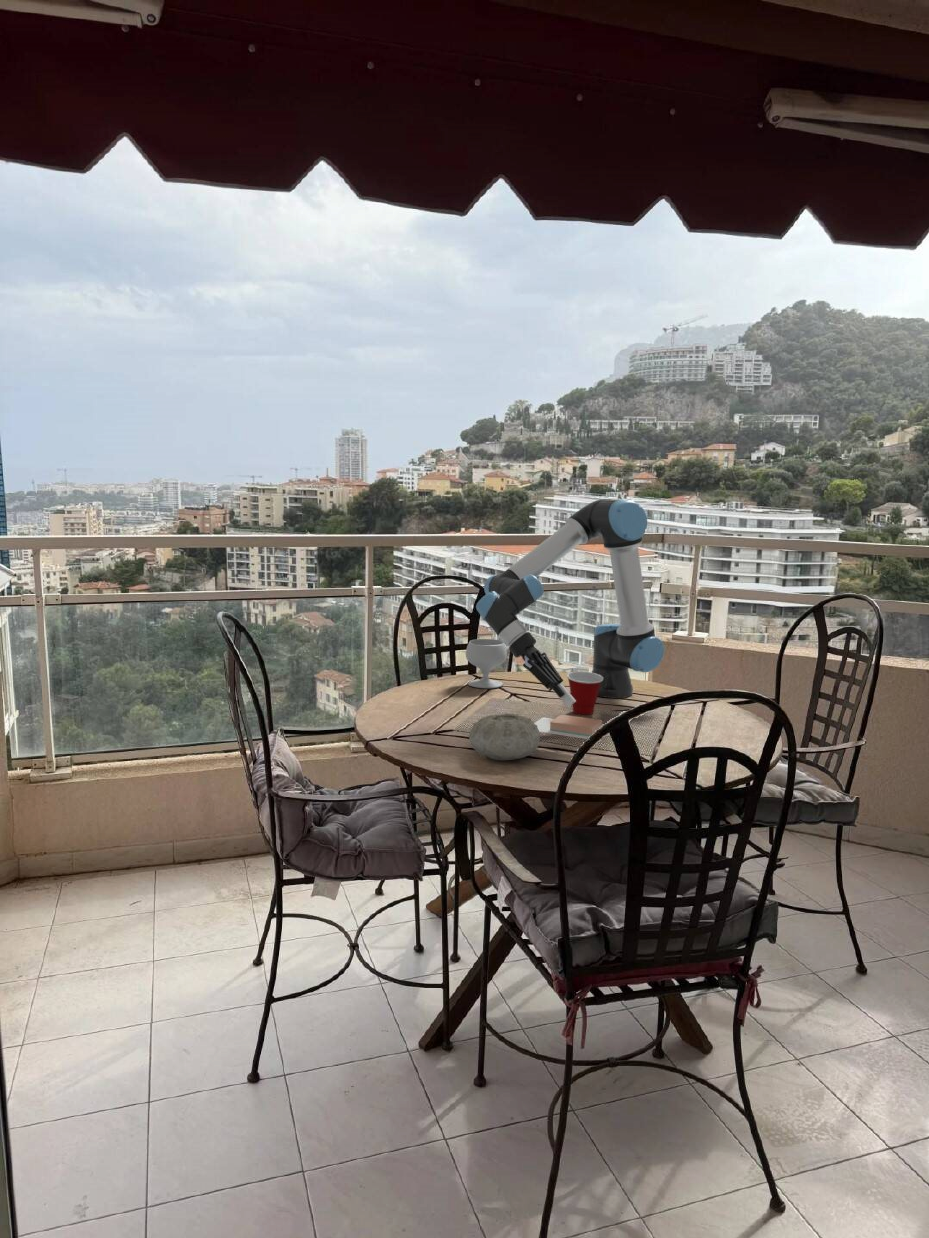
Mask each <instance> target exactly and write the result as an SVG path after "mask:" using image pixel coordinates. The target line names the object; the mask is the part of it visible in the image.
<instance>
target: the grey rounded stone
mask: <svg viewBox="0 0 929 1238" xmlns="http://www.w3.org/2000/svg"><path fill="white" fill-rule="evenodd" d="M534 723H535V722H534V721H533V720H532V719H531V718H528V717H525V716H524V715H523V716H522V715H519V714H518V713H516V714H514V713H506V712H505V713H502V714H490V715H487V716H484V717H482V718H480V719H479V720H478V721H477V722H476V723H475V722H473V724H472V727H471V728H470V731H469V737H468V738H469V744H470V745H471V748H472V749H473V750H474V751H476V752H477V753H479V754H481V755H482V756H484V757H486V758H489V759H492V760H496V761H510V760H511V761H513V760H518V759H523V758H525V757H527V756H528V757H529V756H531V755H532V754H534V753H535V752H536V751H537V749H538V747H539V746H540V745H539V743H540V741H541V740H540V739H541V734H540V733H541V732H539V730H538V728H537V725H535V724H534Z"/></svg>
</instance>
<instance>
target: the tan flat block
mask: <svg viewBox="0 0 929 1238" xmlns="http://www.w3.org/2000/svg"><path fill="white" fill-rule="evenodd" d="M553 719H554V720H552V721H551V722H550V730H551V731H557V732H564V733H570V734H577V735H584V736H590V735H592V734H593V733H594V732H595V730H597V729H598V728H599V727H600V726H601V725H602V726H603V719H599V718H597V719H596V718H589V717H582V716H576V715H569V714H563V713H562V714H559V715H558V716H557V717H555V718H553Z"/></svg>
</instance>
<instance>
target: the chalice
mask: <svg viewBox="0 0 929 1238" xmlns="http://www.w3.org/2000/svg"><path fill="white" fill-rule="evenodd" d="M506 647H507V646H506V645H505V644H504V642H501V639H500V640H499V639H494V638H493V639H491V638H477V639H472V640H469V642H468V644H467V646H466V649H465V658H466V660H467V662H468V663H469V664H471V665H473V666H475V667H476V668H478V669H479V670H480V671H481V673H482V674H483V675H482V678H481V679H473V680H470V681H469V682H468V683H467V685H468V686H470V687H472V688H473V687H474V688H475V689H476V688H478V689H497V688H501V687H503V686H504V683H503V682H502V681H500V680H494V679H490V677H489V675H490V672H491V671H492V670H493V669H495V668H497V667H498V666H500V665H502V664H503V663H505V661H506V660H507V656H508V651H507V648H506Z"/></svg>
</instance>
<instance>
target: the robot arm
mask: <svg viewBox="0 0 929 1238" xmlns="http://www.w3.org/2000/svg"><path fill="white" fill-rule="evenodd" d="M647 527H648V516H647V514H646V510H645V509H644V508H643V507H642V506H641V505H640V504H639V503H638V502H636V501H633V500H629V499H607V498H606V499H605V498H601V499H598V500H594V501H592V502H590V503H588V504H586V505H585V506H583V507H582V508H580V509H578V510H577V511H576V512H575V513H573V514H572V515H571V516H570V517H568V518H567V519H566V520H565V523H564V525H563V526H561V527H560V528H559V529H558V530H557V531H555V532H554V533H553V534H551V535H550V536H549V537H547V538H546V539H545V540H543V541H542V542H541V543H540V544H539V545H537V546H536V547H534V548H533V549H532V550H531V551H529V552H527V554H525V555H524V556H523V557H521V558H520V559H519V560H518V561H516V562H515V563H513V564H512V565H511V566H510V567H509V568H507V569H506V570H505V571H503V572H502V573H500V574H495V575H491V576H489V577H488V578H487V579H486V580H485V581H484V584H483V589H484V593H485V595H483V596H482V597H481V598H480V599H479V600H478V601H477V603H476V605H475V608H476V610H477V612H478V614H479V615H480V616H481V618H482V619H483V620H484V621H485V622H486V623H487V625H488V626H489V627H490V628H491V629H492V630H493V631H494V633H495V634H496V636H498V637H499V639H500V641H501V642H504V644H505V647H508V650H509V652H510V653H511V654H512V655H513V657H515V658H516V659H517V658H520V657H521V659H522V660H523V661H524V663H523V664H522V666H523V667H524V668H525V669H526V670H527V671H529V673H531V674H532V675H533V677H534V678H536V679H537V680H538V681H539V682H540V683H541V684H542V685H543V687H544V688H546V689H547V690H548V691H549V692H551V691H553V692H554V693H555V695H556V696H557V697H558V698H559V699H560V701H561V702H562V703H563V704H564V705H565V707H566V708H570V707H571V706H572V704H573V703H575V702H576V700H575V699H574V698H573V696H572V695H571V692H569V690H568V689H567V688H566V687H565V686H564V684H563V682H564V678H562V677H561V675H560V673H559V672H558V671H557V669H556V668H555V666H554V665H553V663H552V662H551V660H550V658H549V657H548V655H547V653H546V652H541V651H540V650H539V649H537V648H536V647H535V644H536V643H537V640H536V638H535V637H534V636H533V635H532V633H530V632H527V631H528V628H527V627H526V626H525V625H524V623H522V621H521V620H520V619H519V618H518V617H517V615H519V614H520V613H521V612H523V610H525V609H526V608H528V607H529V606H531V605H533V603H535V602H537V600H539V599H540V598H542V596H543V595H544V592H545V591H544V587H543V584H542V582H541V580H540V579H538V577H539V576H540V575H542V574H543V573H544V572H545V571H547V570H548V569H549V568H551V567H552V566H553V565H555V564H556V563H557V562H558V561H559V560H561V559H563V558H564V557H565V556H566V555H568V554H569V553H570V552H571V551H573V550H574V549H575V548H577V546H579V545H585V544H587V543H588V542H590V541H591V540H593V539H597V538H602V543H603V548H604V549H606V550H607V551H608V552H609V557H610V563H611V571H612V576H613V583H614V589H615V597H616V604H617V610H618V618H619V623H608V624H607V623H606V624H605V623H604V624H598V625H596V626H595V628H594V633H593V654H592V655H593V657H592V658H593V659H592V671H591V673H596V674H598V675H601V676H602V677H603V681H602V682H601V684H600V687H599V690H598V695H597V697H603V698H609V699H610V698H613V699H614V698H618V699H619V698H627V697H630V696H632V695H633V692H634V690H633V689H634V686H633V684H632V682H631V681H632V680H631V676H630V675H631V674H630V672H629V669H631V670H633V671H634V672H641V673H649V672H651V671H654V670H655V669H656V668H658V667H659V666H660V663H661V662H662V661H663V658H664V656H665V644H664V643H663V641H662V640H661V639H660V638H659V637H657V636H656V633H655V628H654V627H655V626H654V625H653V624H652V623H651V622H649V619H648V611H647V602H646V597H645V590H644V582H643V581H644V580H643V575H642V574H643V573H642V568H641V567H642V565H641V560H640V551H639V547H640V545H641V544H642V543H643V535H645V533H646V530H647Z"/></svg>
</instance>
